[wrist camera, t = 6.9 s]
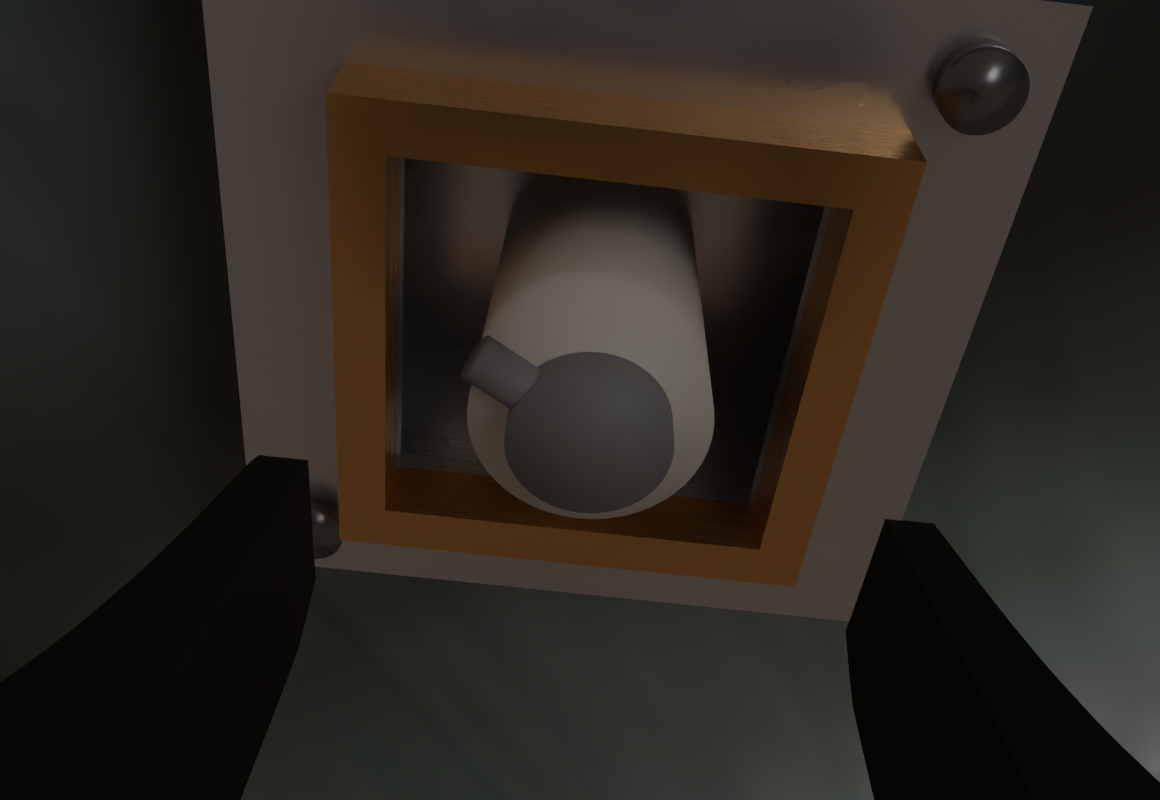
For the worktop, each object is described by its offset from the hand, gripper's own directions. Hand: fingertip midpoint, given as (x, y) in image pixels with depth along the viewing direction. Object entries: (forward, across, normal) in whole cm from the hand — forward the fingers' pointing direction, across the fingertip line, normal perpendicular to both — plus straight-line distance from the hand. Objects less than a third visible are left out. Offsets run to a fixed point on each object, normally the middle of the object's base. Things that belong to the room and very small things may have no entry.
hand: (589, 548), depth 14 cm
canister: (+9, 0, 0) cm, 9 cm away
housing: (+9, 0, 0) cm, 9 cm away
